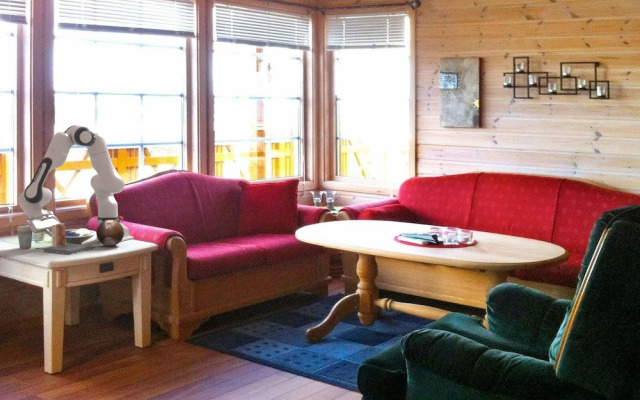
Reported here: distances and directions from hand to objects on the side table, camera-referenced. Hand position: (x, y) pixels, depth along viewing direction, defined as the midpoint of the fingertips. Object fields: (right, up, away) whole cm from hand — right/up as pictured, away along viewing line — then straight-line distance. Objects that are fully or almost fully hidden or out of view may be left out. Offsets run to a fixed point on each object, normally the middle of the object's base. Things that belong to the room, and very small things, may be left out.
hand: (53, 235), depth 448 cm
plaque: (+3, -5, -1) cm, 7 cm away
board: (+9, -8, -3) cm, 12 cm away
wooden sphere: (+28, -7, +12) cm, 31 cm away
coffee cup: (-16, -7, +2) cm, 18 cm away
